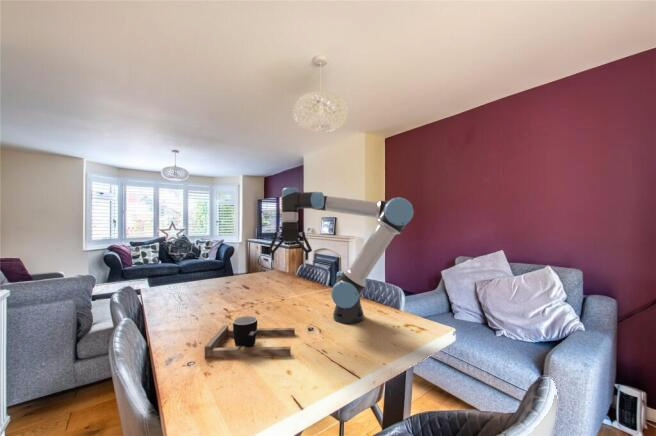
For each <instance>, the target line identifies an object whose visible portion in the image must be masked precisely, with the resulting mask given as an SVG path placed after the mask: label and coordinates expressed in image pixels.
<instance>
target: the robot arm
mask: <svg viewBox="0 0 656 436" xmlns="http://www.w3.org/2000/svg"><path fill="white" fill-rule="evenodd" d="M299 209H300V210H301V209H311V210H314V211H324V212H331V213H338V214H339V213H340V214H347V215H355V216H361V217H369V218H374V219H375V218H376V222H377V225H376V227H375V228H374V230H373V231H372V233H371V235H370V236H369V238H368V239H367V240H366V242H365V243H364V245H363V247H362V248H361V250H360V251H359V253H358V254H357V255H356V257H355V259H354V261H353V262H352V263H351V266H350V267H349V268H348V269H344V270H343V271H337V272H336V276H335V278H336V282H335V284H334V285H333V286H332V288H331V299H332V302H333V304H335V307H334V310H333V312H332V316H333V317H332V318H333V320H334V321H336V322H338V323H341V324H357V323H361V322H363V321H364V320H365V315H364V313H365V312H364V310H363V307H362V304H361V294H362V292H363V291H364V290H365V288H366V286H367V284H366V280H367V279H368V277H369V275H370V274H371V272H372V271H373V269H374V268H375V266H376V264H378V262H379V260H380V259H381V257H382V255H383V254H384V252H385V251H386V250H387V247H388V246H389V245H390V243H391V242H392V240H394V237H395V236H396V235H401V233H402V232H403V230H404V228H405V227H406V225H407V224H409V222H411V221H412V218H413V217H414V208H413V205H412V203H411V202H410V201H409V200H408V199H406V198H403V197H399V196H398V197H393V198H391V199H390V200H379V201H371V200H370V201H369V200H362V199H353V198H346V197H345V198H344V197H343V198H342V197H336V196H329V195H324V193H323V192H322V191H321V192H320V191H309V192H308V191H307V192H306V191H305V192H302V191H301V192H299V189H298V188H297V187H284V188H283V189H282V190H281V221H282V222H281V231H275V232H274V236H273V239H272V240H271V243H270V244H269V247H268V249H267V252H268V253H271V260H272V261H273V268H274V269H276V268H277V266H278V265H277V253H278V252H276V251H277V250H279V248H280V247H281V245H282V244H284V242H286V243H288V242H291V243H292V242H296V244H297V245H298V246H299V247H300V248H301V249H302V250H303V251H304V252H303V268H304V269H305V268H307V265H306V264H307V263H306V262H307V261H308V260H309V253H311V252H312V251H313V249H312V246H311V245H310V243H309V241H308V239H307V237H306V233H305V231H301V232H299V222H298V221H299ZM280 236H281V237H282V238H281V239H280V241H279V243H277V245H276V246H275V247H274V245H275V243H276V242H277V239H278V238H279V237H280ZM299 236H300V237H302V240H303V241H304V243H305V246H306V247H307V248H306V247H305V246H304V244H303V242H301V241H300V240H299V238H298V237H299Z"/></svg>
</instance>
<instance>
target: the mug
mask: <svg viewBox="0 0 656 436" xmlns="http://www.w3.org/2000/svg"><path fill="white" fill-rule="evenodd" d="M257 328H258V317H255V316H251V315H246V316H239V317H236V318H235V319H234V320H233V321H232V329H233V334H234V337H233V339H234V340H233V341H234V345H235V347H236V346H240V345H241V346H245V347H255V344H256V341H257V340H256V339H257V336H256V334H257Z"/></svg>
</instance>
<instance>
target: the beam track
mask: <svg viewBox="0 0 656 436" xmlns="http://www.w3.org/2000/svg"><path fill="white" fill-rule="evenodd" d="M295 333H296V327H270V328H268V327H265V328H261V327H257V334H256V337H290V336H291V337H295V336H296V334H295ZM230 337H231V338H234V334H233V328H229V325H225V324H224V325H222V327H221V328H220V329H219V330H218V331H217V332H216V333H215V334H214V335H213V337H212V338H210V340H209V341H208V342H207V343H206V344H205V345H204V359H207V358H208V359H212V358H214V359H216V358H217V359H218V358H256V357H257V358H258V357H261V358H263V357H264V358H265V357H267V358H268V357H291V353H292V352H291V350H292V348H291V346H253V347H245V346H241V345H240V346H235V347H221V345H222V344H223V342H224V341H225V340H226V339H227V338H230Z"/></svg>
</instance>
